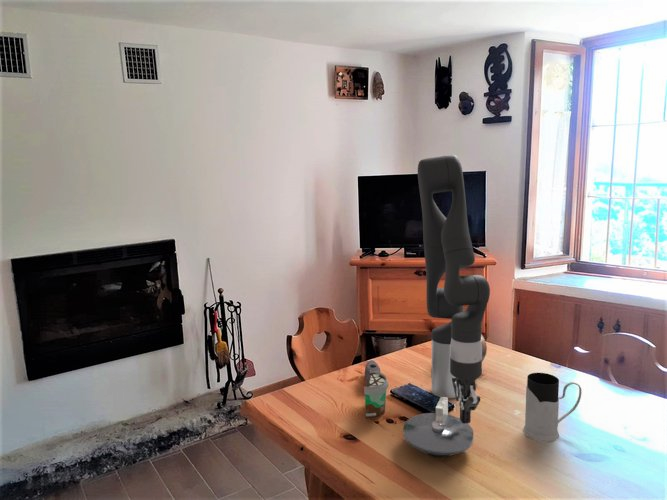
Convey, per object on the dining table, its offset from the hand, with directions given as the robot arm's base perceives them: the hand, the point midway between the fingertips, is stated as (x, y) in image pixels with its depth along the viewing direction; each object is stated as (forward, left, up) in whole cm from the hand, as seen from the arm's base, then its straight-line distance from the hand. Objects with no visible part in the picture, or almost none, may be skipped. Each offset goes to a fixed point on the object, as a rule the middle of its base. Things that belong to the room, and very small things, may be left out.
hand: (465, 421), depth 122 cm
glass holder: (-15, +20, -7) cm, 26 cm away
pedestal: (+3, -6, -6) cm, 10 cm away
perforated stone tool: (-28, -34, -7) cm, 44 cm away
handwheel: (+4, -6, -3) cm, 8 cm away
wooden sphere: (-50, -8, -7) cm, 51 cm away
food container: (-10, -26, -7) cm, 29 cm away
